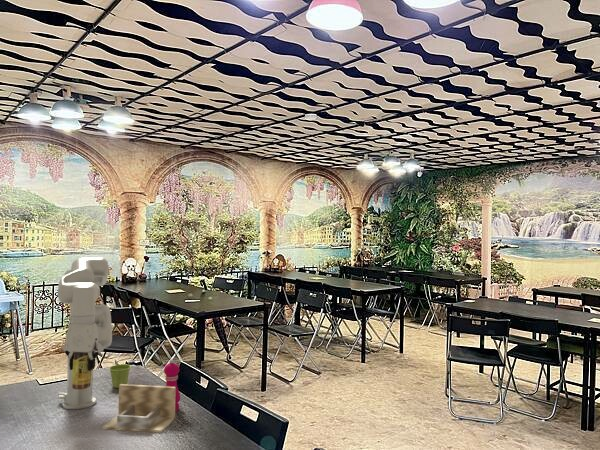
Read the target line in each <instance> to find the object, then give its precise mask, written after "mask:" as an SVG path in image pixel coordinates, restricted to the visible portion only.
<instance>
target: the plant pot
mask: <svg viewBox="0 0 600 450" xmlns="http://www.w3.org/2000/svg"><path fill="white" fill-rule="evenodd" d="M131 368H132V366H131V364H127V363H126V364H125V363H123V364H115V365H112V366H110V367H109V368H108V369H109V371H110V376H111V384H112V387H113V388H115V389H119V385H120V384H128V380H129V374H130V370H131Z"/></svg>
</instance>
